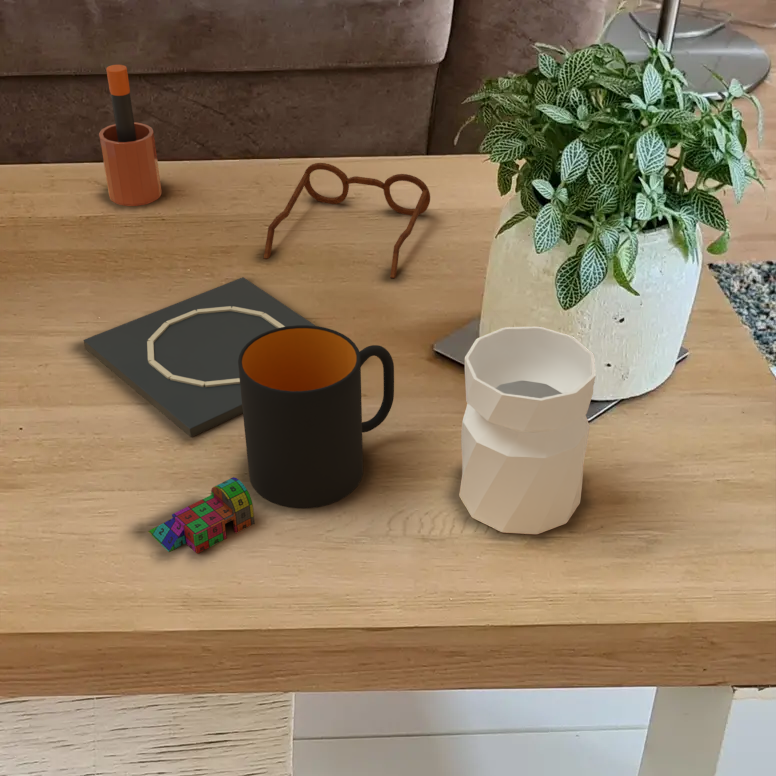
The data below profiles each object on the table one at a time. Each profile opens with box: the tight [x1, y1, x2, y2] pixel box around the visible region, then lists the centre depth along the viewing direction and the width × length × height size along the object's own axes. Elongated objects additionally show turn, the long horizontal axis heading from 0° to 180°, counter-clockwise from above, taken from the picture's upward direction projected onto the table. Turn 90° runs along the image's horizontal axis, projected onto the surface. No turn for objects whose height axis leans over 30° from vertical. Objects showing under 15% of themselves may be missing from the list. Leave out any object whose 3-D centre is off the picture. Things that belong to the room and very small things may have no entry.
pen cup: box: [98, 121, 163, 207], centre depth 117 cm, size 5×5×7 cm
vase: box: [458, 326, 597, 535], centre depth 80 cm, size 9×9×12 cm
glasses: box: [263, 162, 431, 279], centre depth 112 cm, size 13×13×5 cm
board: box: [82, 276, 316, 438], centre depth 97 cm, size 16×16×1 cm
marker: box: [105, 64, 137, 142], centre depth 115 cm, size 2×2×13 cm
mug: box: [238, 325, 395, 509], centre depth 83 cm, size 8×12×10 cm
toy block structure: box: [147, 476, 255, 554], centre depth 79 cm, size 6×4×3 cm
